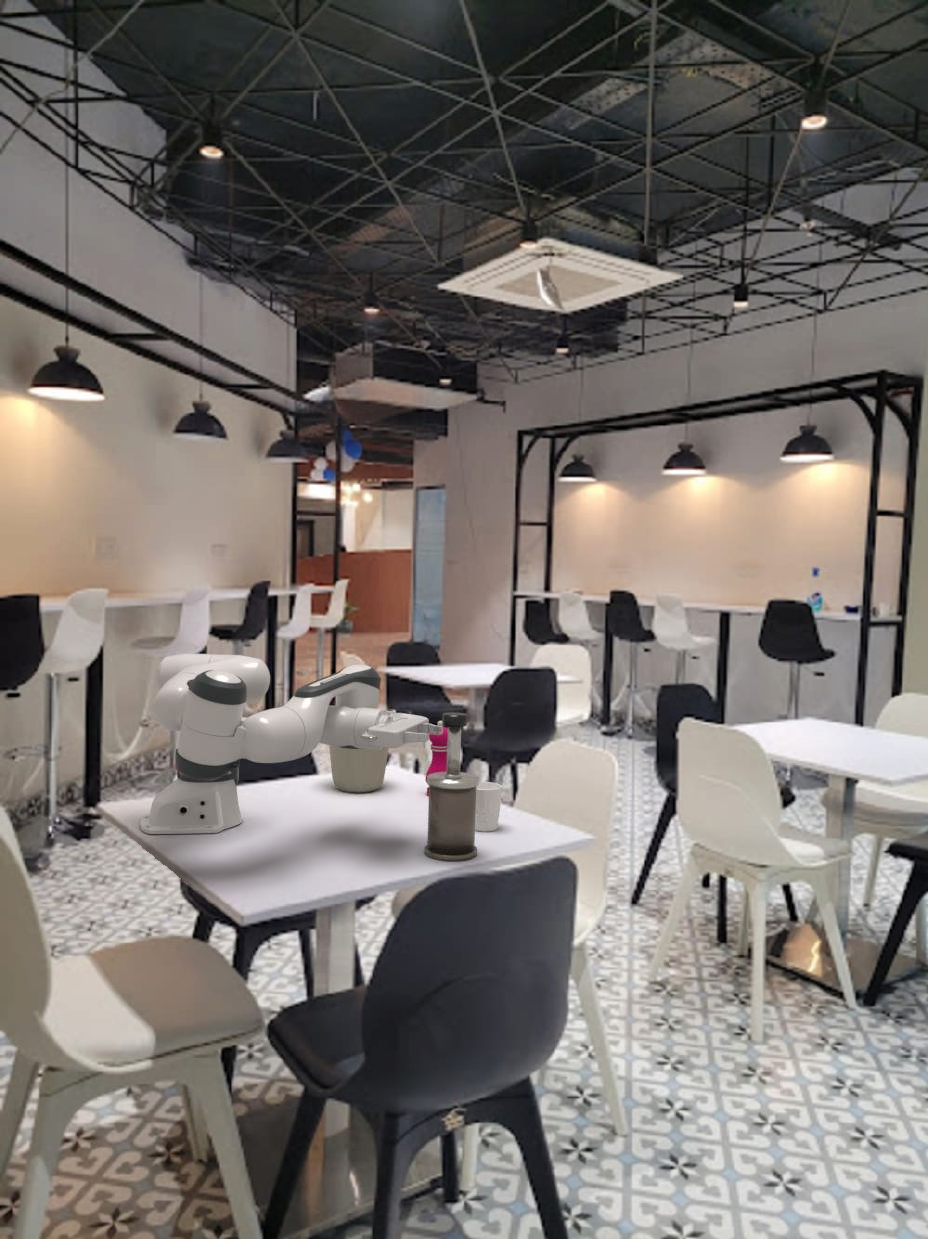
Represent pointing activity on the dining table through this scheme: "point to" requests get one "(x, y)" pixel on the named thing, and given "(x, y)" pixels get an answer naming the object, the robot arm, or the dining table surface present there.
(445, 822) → the grey thread spool
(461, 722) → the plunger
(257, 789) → the dining table surface
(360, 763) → the canister
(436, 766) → the pepper mill
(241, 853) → the dining table surface
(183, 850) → the dining table surface
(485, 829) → the white cup
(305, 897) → the dining table surface
